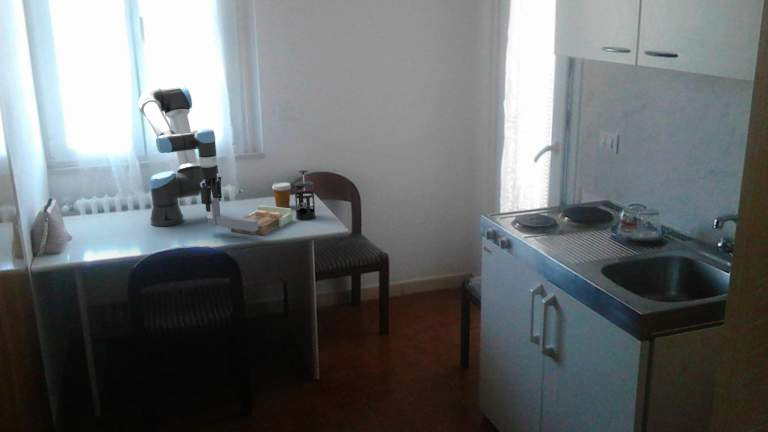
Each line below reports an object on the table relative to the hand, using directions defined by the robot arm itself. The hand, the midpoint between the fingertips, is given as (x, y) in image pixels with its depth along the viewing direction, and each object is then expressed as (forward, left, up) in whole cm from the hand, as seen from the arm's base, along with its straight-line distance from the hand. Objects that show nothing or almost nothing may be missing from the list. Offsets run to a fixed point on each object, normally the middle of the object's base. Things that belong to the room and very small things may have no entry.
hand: (213, 216), depth 319 cm
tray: (+15, +23, -8) cm, 28 cm away
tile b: (+20, +18, -5) cm, 27 cm away
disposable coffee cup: (+8, +46, -8) cm, 47 cm away
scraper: (+10, 0, -4) cm, 11 cm away
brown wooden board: (+14, +11, -8) cm, 19 cm away
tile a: (+12, +19, -5) cm, 23 cm away
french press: (+27, +35, -8) cm, 45 cm away
